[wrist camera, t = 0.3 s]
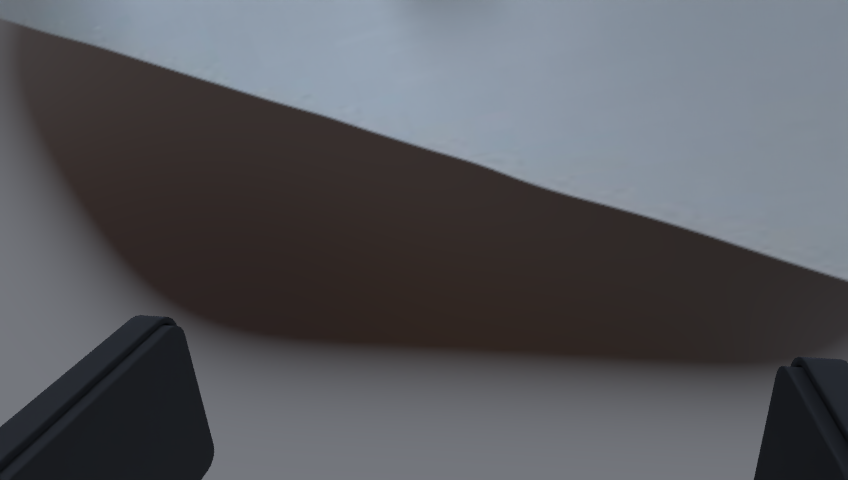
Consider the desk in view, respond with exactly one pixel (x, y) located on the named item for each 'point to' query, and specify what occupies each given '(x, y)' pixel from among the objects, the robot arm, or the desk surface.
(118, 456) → the robot arm
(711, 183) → the desk surface
